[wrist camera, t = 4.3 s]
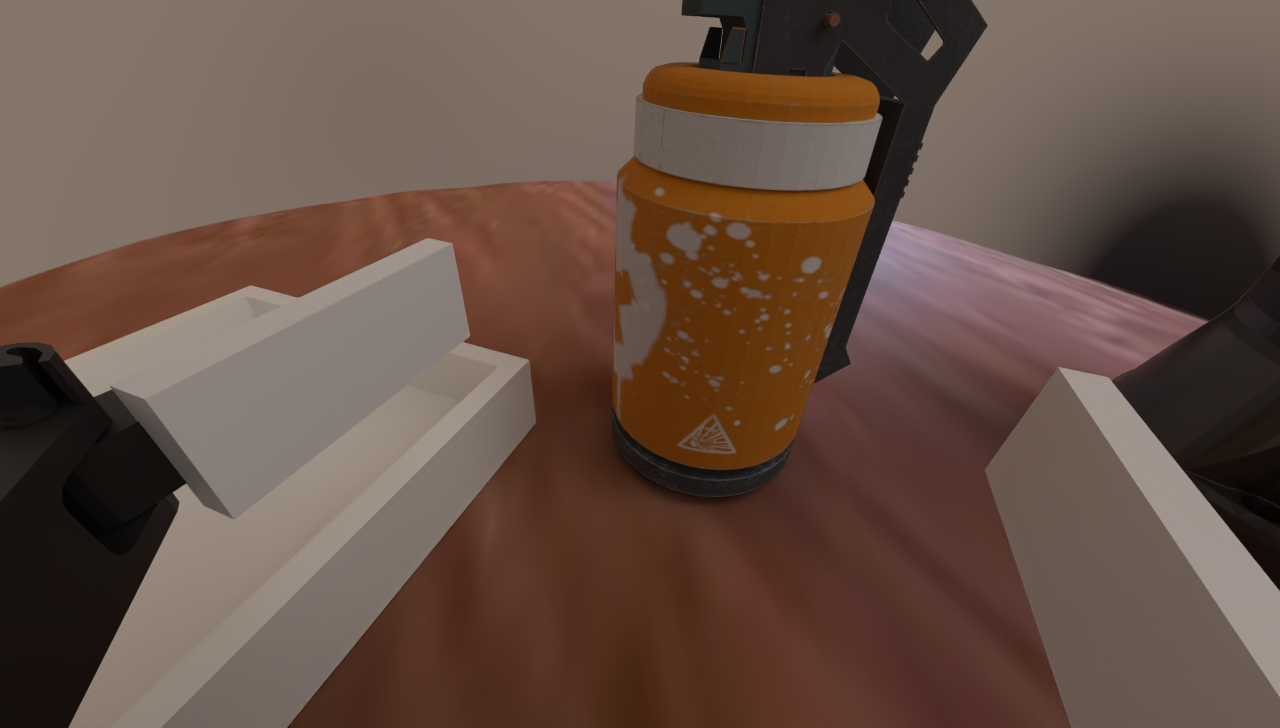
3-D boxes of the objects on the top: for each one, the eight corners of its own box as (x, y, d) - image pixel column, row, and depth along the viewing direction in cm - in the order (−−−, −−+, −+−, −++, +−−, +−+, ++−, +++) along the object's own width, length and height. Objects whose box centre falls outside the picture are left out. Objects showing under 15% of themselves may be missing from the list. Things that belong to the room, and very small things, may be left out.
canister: (602, 388, 27) (603, -91, 15) (779, 374, 29) (901, -59, 17) (627, 519, 20) (666, -195, 8) (860, 489, 22) (1165, -119, 10)
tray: (279, 344, 29) (251, 285, 26) (536, 422, 24) (529, 360, 22) (-258, 628, 15) (-420, 556, 12) (112, 941, 10) (-33, 920, 8)
